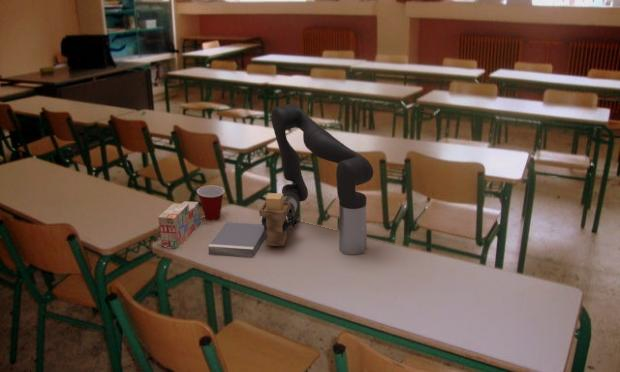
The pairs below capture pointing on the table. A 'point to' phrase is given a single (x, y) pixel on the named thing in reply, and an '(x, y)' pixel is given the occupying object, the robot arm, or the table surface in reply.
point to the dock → (238, 239)
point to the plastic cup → (211, 201)
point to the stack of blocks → (179, 223)
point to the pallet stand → (275, 224)
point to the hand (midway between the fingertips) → (274, 228)
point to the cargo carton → (275, 202)
